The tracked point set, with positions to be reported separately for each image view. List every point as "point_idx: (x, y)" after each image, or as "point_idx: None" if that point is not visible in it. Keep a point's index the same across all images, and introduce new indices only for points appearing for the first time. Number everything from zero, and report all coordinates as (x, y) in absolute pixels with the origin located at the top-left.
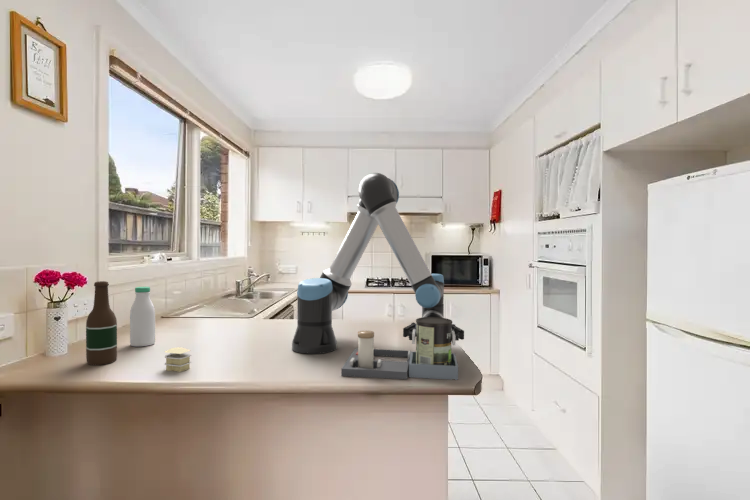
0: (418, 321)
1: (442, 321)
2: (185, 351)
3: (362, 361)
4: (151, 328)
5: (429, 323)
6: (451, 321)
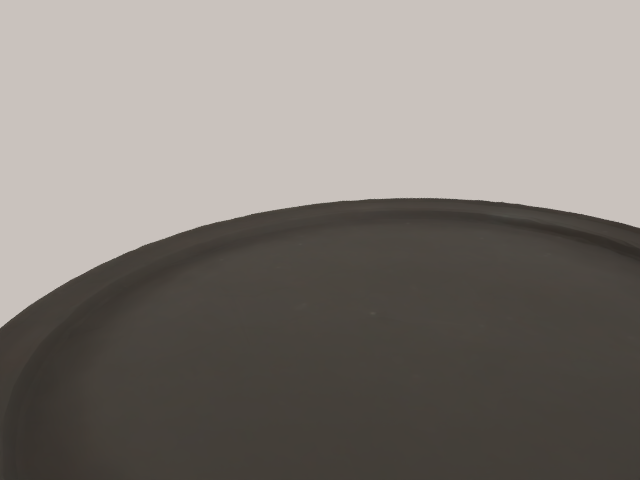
0: (613, 222)
1: (213, 302)
2: None
3: None
4: None
5: (413, 198)
6: (44, 296)
